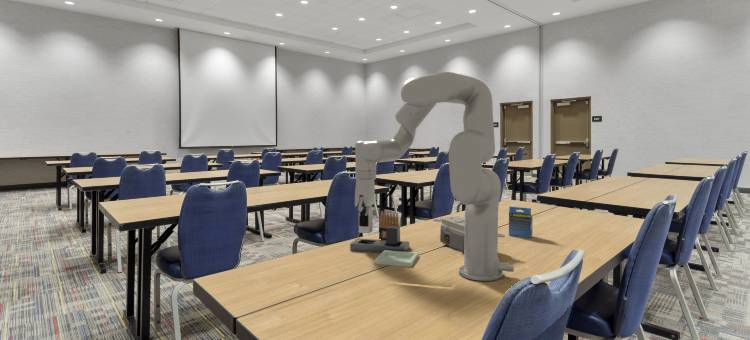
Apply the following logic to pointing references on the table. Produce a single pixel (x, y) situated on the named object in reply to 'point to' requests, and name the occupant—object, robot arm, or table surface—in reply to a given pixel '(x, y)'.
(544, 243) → the table surface
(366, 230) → the grey rectangular block
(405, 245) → the dark grey holder base
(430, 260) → the table surface
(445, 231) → the electrical outlet
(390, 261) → the tray
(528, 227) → the label tape box
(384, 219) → the ammunition clip
